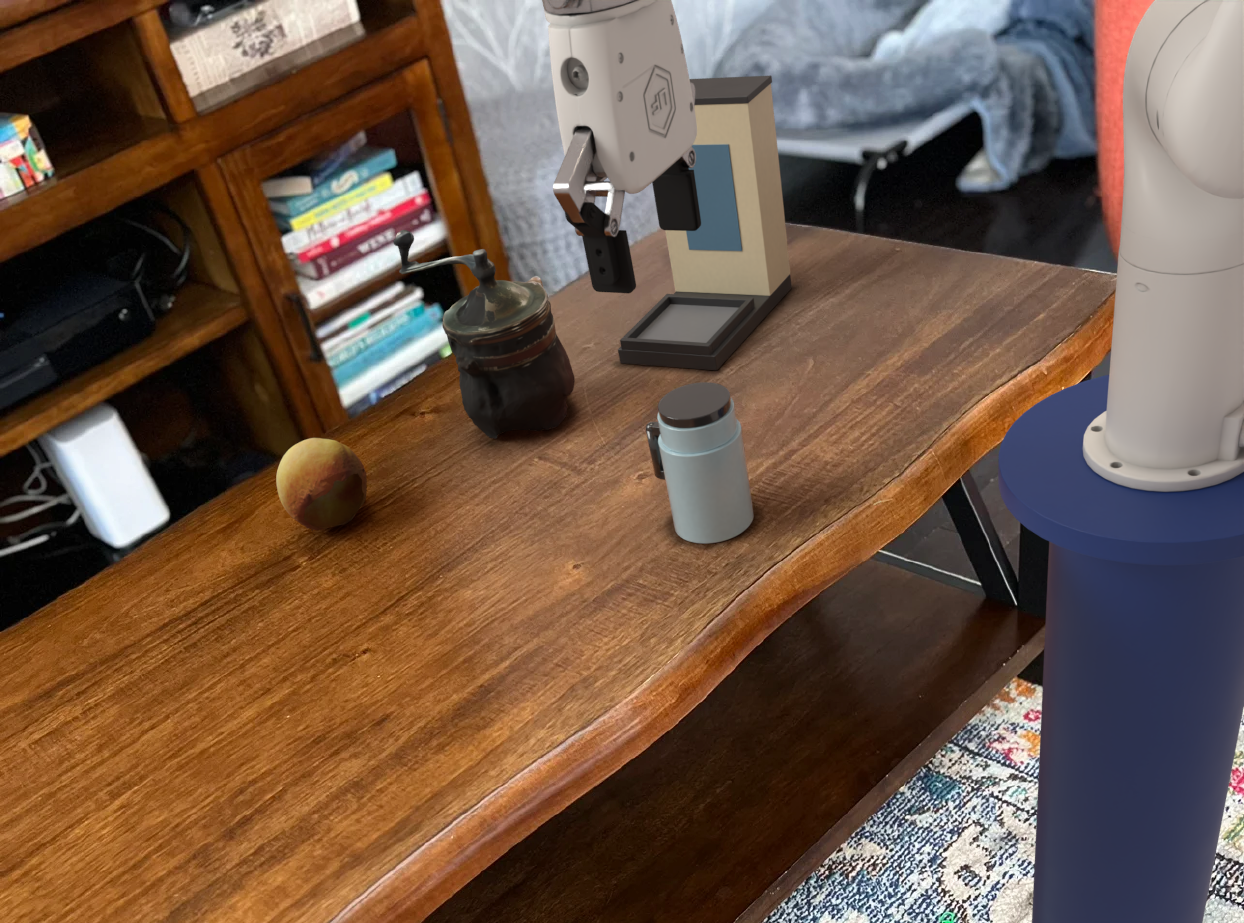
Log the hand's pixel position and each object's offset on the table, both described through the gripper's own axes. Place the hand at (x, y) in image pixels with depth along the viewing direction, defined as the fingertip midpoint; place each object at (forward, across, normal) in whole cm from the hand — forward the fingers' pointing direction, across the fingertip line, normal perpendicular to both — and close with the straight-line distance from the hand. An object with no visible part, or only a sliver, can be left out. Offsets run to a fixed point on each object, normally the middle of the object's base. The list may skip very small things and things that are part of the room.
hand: (648, 259), depth 90 cm
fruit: (+23, -6, +34) cm, 41 cm away
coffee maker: (+22, +34, +16) cm, 44 cm away
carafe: (+22, +1, -1) cm, 22 cm away
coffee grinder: (+22, +13, +27) cm, 37 cm away
